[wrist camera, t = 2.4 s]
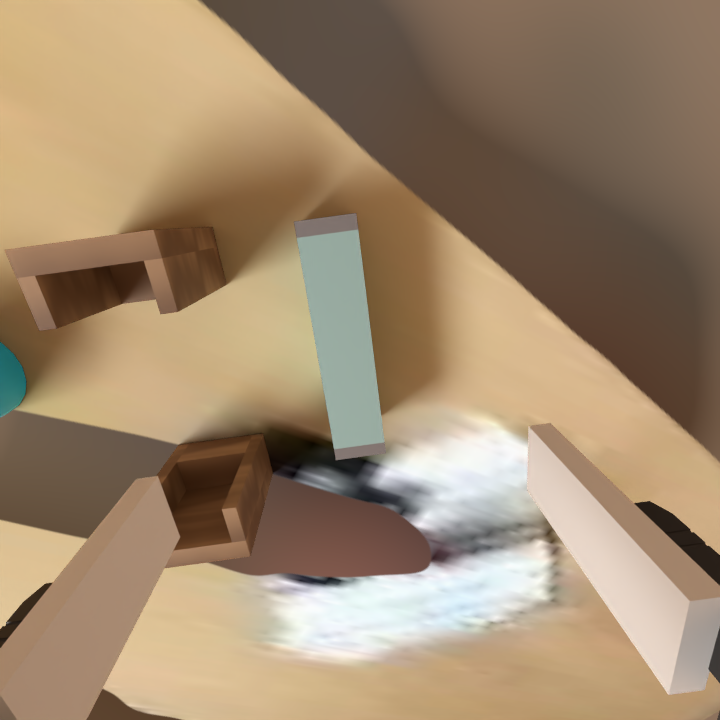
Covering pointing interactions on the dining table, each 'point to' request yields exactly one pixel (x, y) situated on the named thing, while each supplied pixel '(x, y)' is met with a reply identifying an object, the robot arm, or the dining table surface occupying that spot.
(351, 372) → the rail
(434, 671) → the dining table surface
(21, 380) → the mug
